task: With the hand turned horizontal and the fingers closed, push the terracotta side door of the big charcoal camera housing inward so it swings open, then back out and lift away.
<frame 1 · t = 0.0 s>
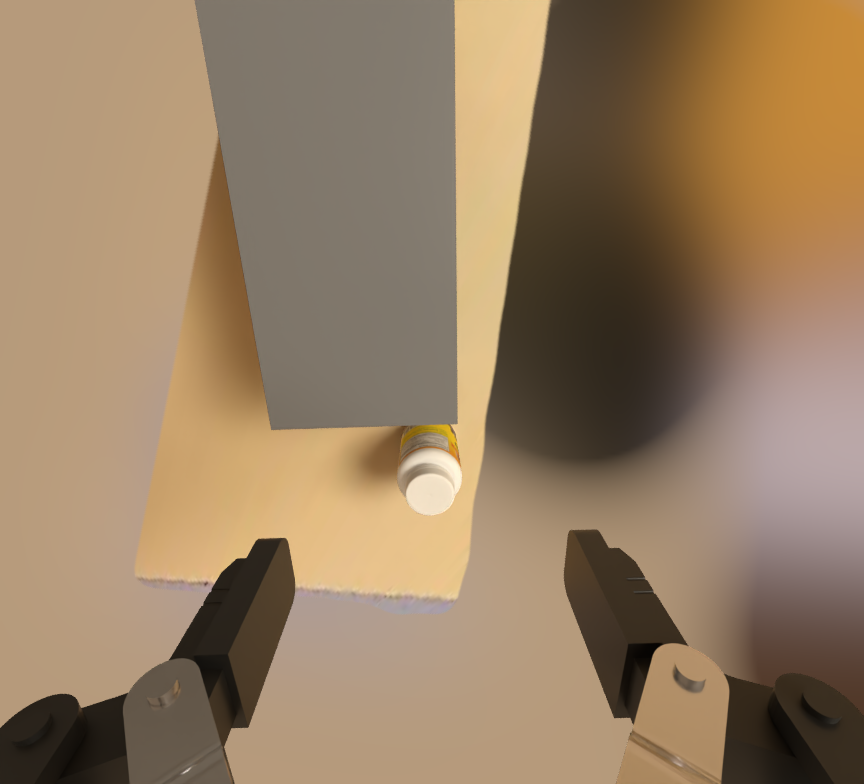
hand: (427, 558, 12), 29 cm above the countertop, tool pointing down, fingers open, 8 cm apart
housing: (375, 240, 37), on the countertop
supplement bottle: (428, 436, 44), on the countertop
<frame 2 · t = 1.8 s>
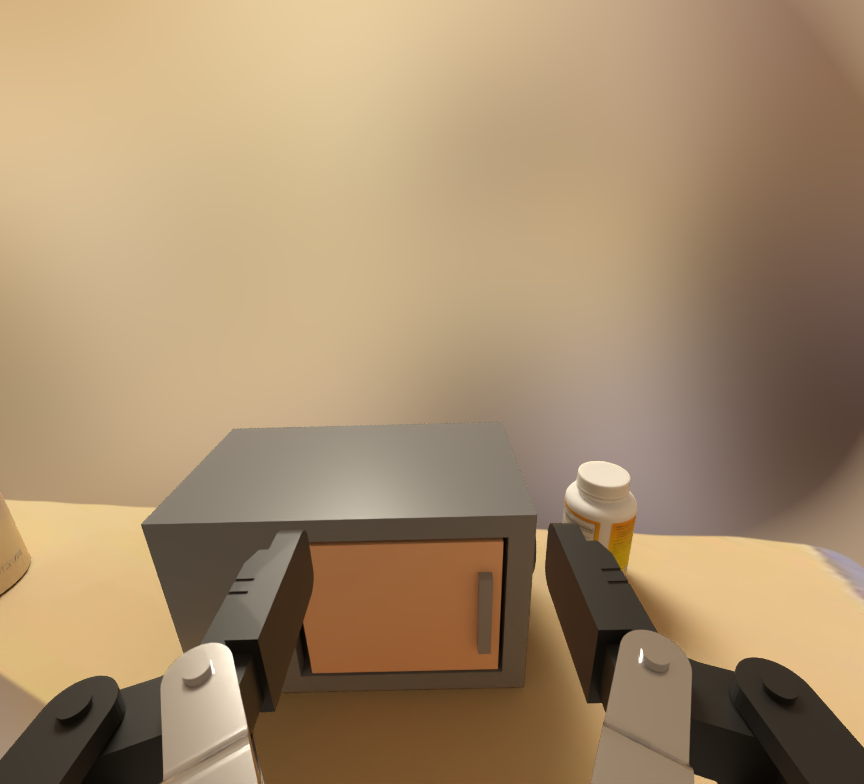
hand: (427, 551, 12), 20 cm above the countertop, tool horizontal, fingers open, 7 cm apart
door: (401, 609, 26), point 7 cm above the countertop, hinge at 0.0°
housing: (371, 615, 34), on the countertop
supplement bottle: (590, 573, 38), on the countertop
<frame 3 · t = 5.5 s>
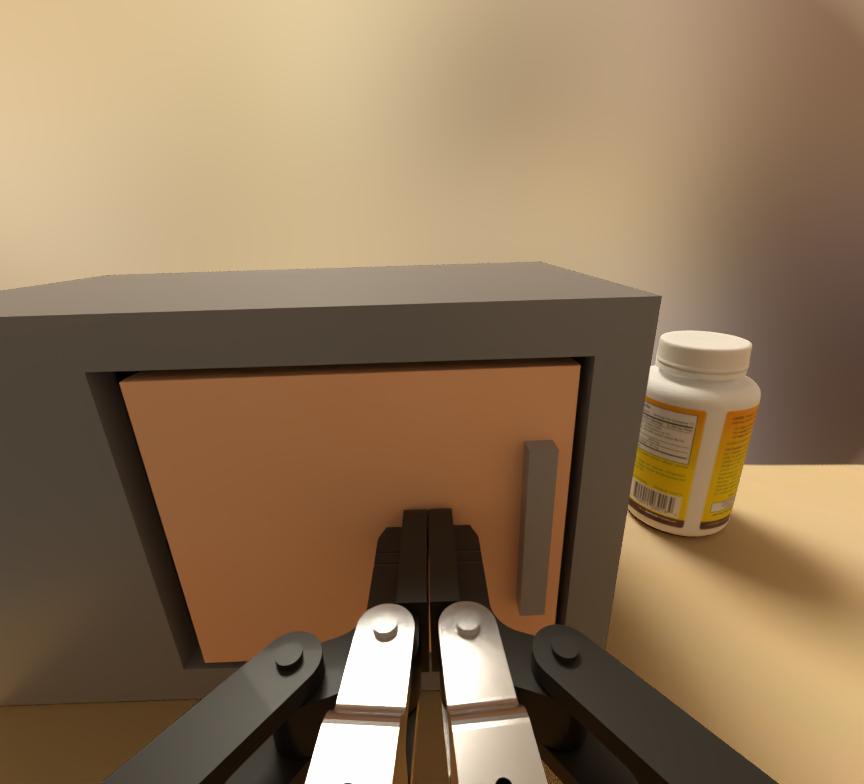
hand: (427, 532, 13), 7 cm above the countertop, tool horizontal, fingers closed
door: (368, 529, 13), point 7 cm above the countertop, hinge at 0.8°, touching gripper
housing: (331, 571, 21), on the countertop
supplement bottle: (669, 512, 25), on the countertop
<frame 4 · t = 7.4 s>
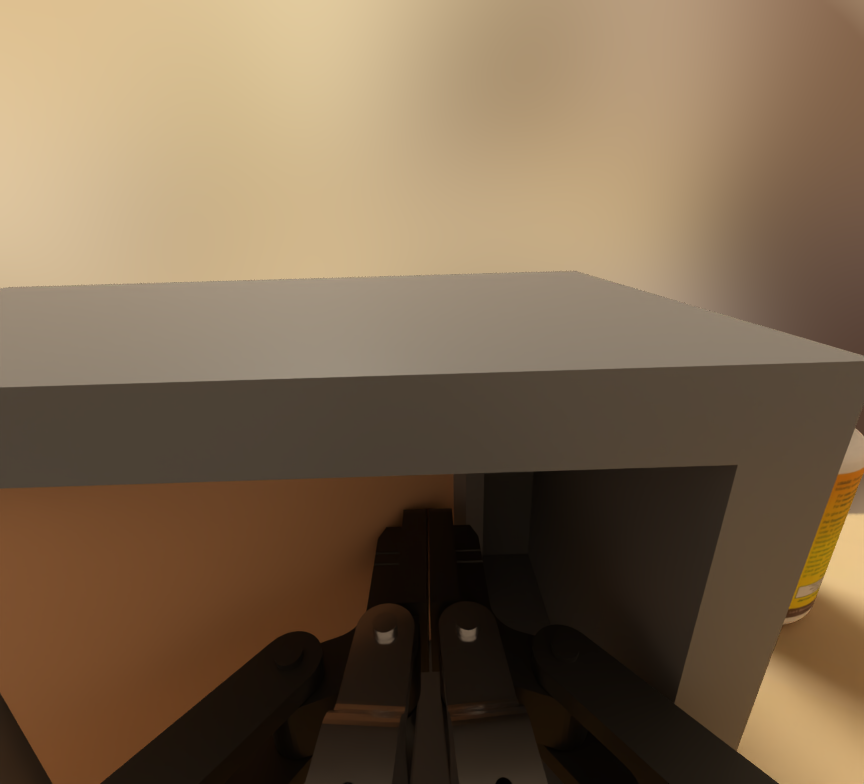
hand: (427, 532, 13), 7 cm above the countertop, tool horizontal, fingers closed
door: (320, 572, 12), point 7 cm above the countertop, hinge at 37.8°, touching gripper
housing: (301, 678, 16), on the countertop
supplement bottle: (730, 583, 20), on the countertop
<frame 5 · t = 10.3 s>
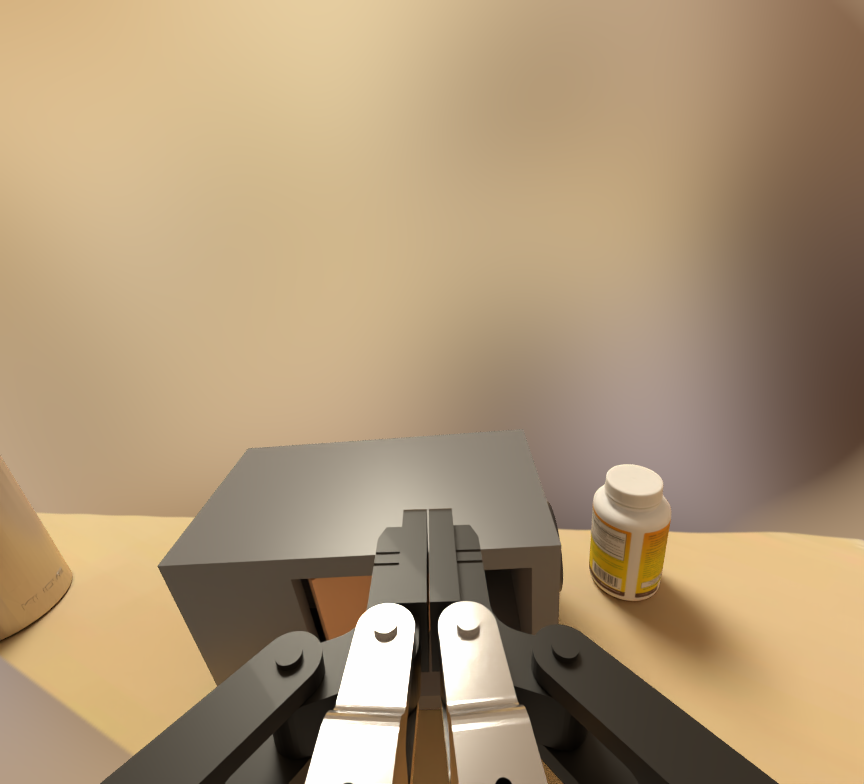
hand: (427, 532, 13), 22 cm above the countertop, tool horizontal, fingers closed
door: (410, 585, 29), point 7 cm above the countertop, hinge at 37.8°
housing: (398, 628, 34), on the countertop
supplement bottle: (622, 578, 37), on the countertop
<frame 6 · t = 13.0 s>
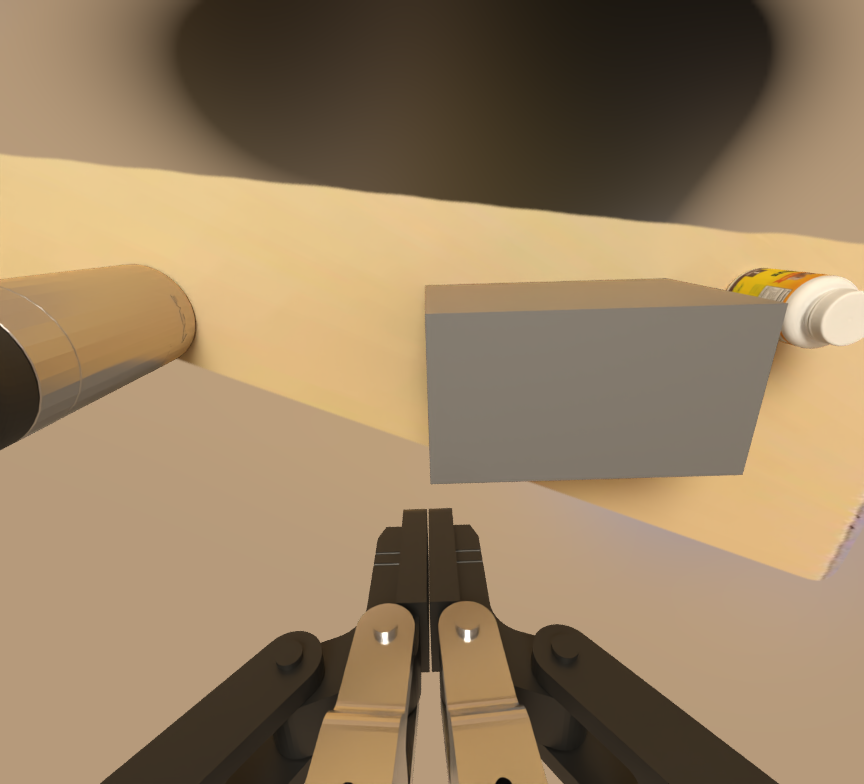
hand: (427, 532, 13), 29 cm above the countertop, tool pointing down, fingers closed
housing: (541, 345, 41), on the countertop
supplement bottle: (747, 297, 40), on the countertop
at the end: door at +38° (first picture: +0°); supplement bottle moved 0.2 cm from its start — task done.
